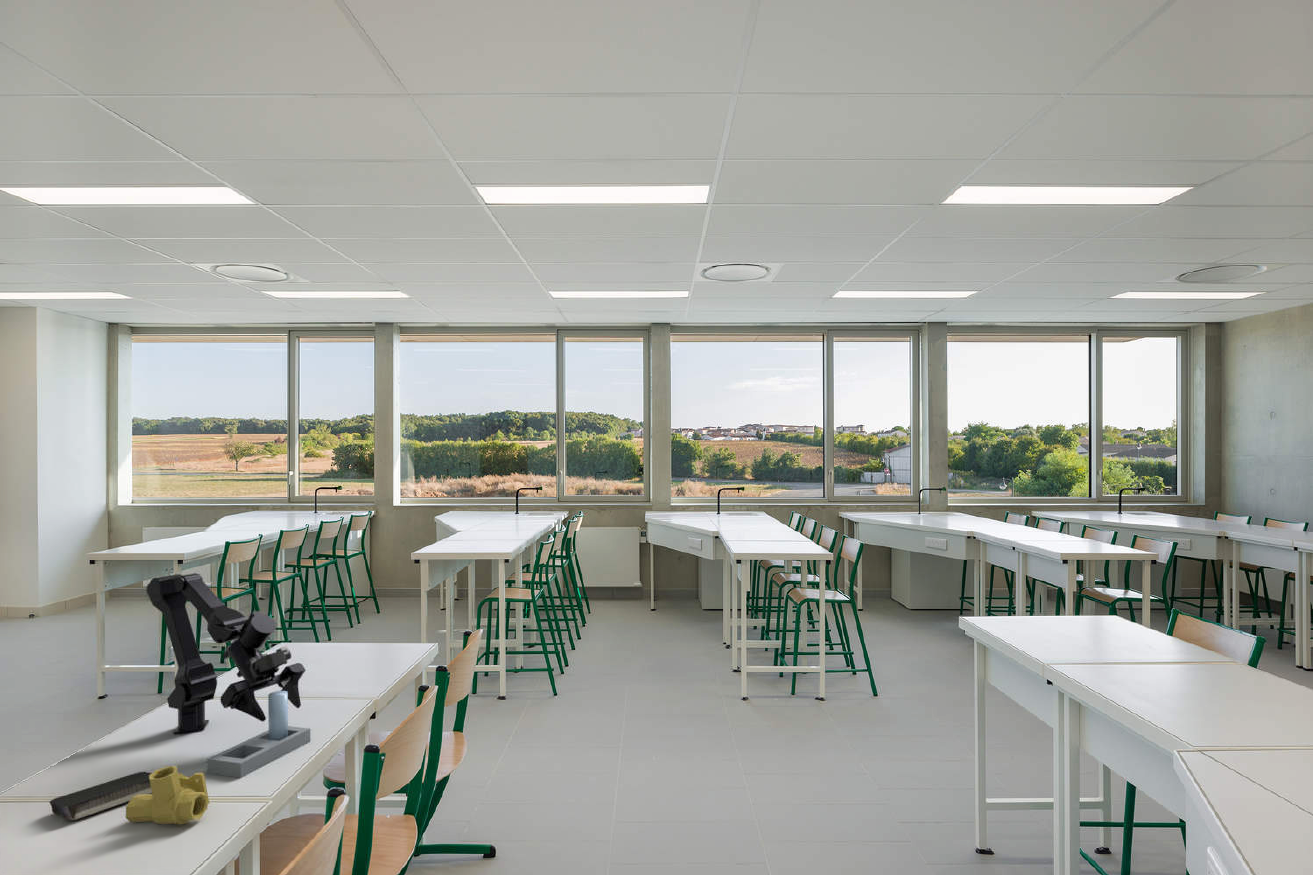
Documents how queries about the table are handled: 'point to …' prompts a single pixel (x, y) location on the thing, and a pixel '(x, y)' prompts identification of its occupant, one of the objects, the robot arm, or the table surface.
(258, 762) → the panel
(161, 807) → the ball valve
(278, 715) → the plug
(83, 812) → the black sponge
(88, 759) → the table surface
